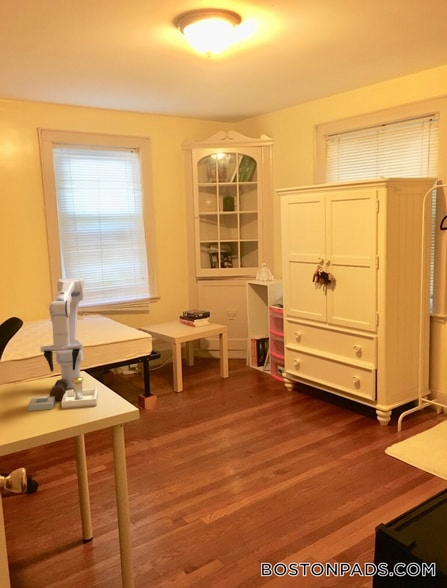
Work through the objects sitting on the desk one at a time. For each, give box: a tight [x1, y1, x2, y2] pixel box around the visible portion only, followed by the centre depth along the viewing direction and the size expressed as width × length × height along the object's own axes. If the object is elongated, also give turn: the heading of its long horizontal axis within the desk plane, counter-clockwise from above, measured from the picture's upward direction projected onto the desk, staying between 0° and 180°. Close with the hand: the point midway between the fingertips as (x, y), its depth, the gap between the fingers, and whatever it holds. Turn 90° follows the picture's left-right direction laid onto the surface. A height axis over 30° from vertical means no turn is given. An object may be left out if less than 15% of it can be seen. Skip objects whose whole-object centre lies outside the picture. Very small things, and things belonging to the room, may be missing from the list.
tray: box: [61, 387, 99, 410], centre depth 176 cm, size 12×12×2 cm
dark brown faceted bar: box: [48, 378, 68, 402], centre depth 184 cm, size 6×5×15 cm
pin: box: [72, 376, 84, 400], centre depth 175 cm, size 4×4×8 cm
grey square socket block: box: [27, 395, 56, 412], centre depth 172 cm, size 8×8×2 cm
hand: (63, 370), depth 179 cm, fingers open, 7 cm apart
